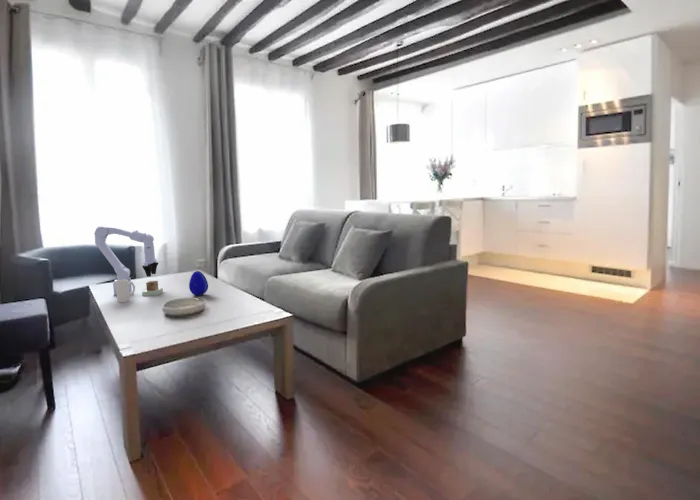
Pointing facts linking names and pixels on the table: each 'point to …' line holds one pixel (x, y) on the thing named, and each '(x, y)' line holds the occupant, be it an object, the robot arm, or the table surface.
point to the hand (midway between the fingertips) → (151, 275)
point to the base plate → (152, 292)
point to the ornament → (198, 283)
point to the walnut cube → (152, 285)
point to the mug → (123, 290)
